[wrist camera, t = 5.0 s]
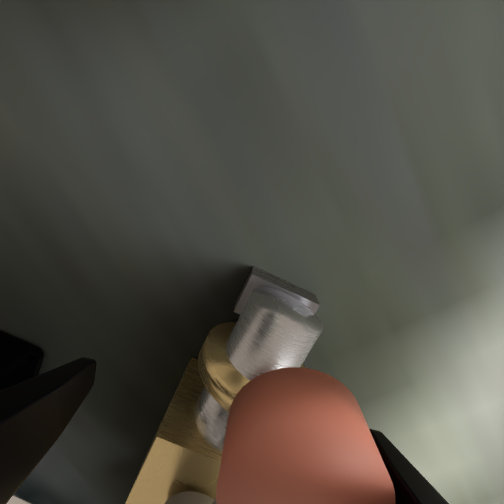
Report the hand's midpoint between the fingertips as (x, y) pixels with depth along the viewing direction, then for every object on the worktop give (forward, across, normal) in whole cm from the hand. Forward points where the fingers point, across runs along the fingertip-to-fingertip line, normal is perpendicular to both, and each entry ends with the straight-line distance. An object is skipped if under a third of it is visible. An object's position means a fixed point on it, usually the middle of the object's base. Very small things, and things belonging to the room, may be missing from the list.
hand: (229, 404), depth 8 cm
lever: (+2, -1, +4) cm, 4 cm away
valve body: (+7, 0, +8) cm, 11 cm away
